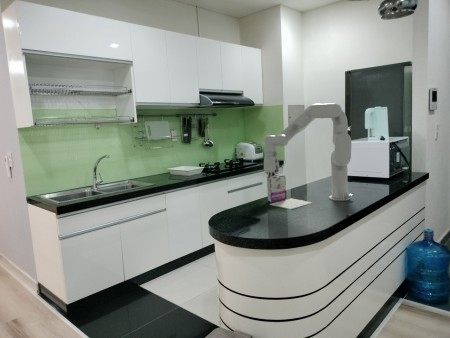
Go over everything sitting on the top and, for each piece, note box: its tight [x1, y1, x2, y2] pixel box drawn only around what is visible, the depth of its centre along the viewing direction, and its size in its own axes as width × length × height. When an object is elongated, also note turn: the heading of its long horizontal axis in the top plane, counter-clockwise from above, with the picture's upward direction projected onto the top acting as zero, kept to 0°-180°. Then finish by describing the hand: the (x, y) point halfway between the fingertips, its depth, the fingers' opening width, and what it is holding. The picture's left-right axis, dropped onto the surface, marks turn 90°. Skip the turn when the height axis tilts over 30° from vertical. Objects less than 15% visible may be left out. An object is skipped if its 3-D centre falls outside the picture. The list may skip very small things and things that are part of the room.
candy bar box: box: [266, 173, 287, 204], centre depth 217 cm, size 11×5×16 cm, turn 112°
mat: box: [269, 198, 313, 210], centre depth 209 cm, size 17×20×1 cm
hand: (271, 182), depth 221 cm, fingers closed
